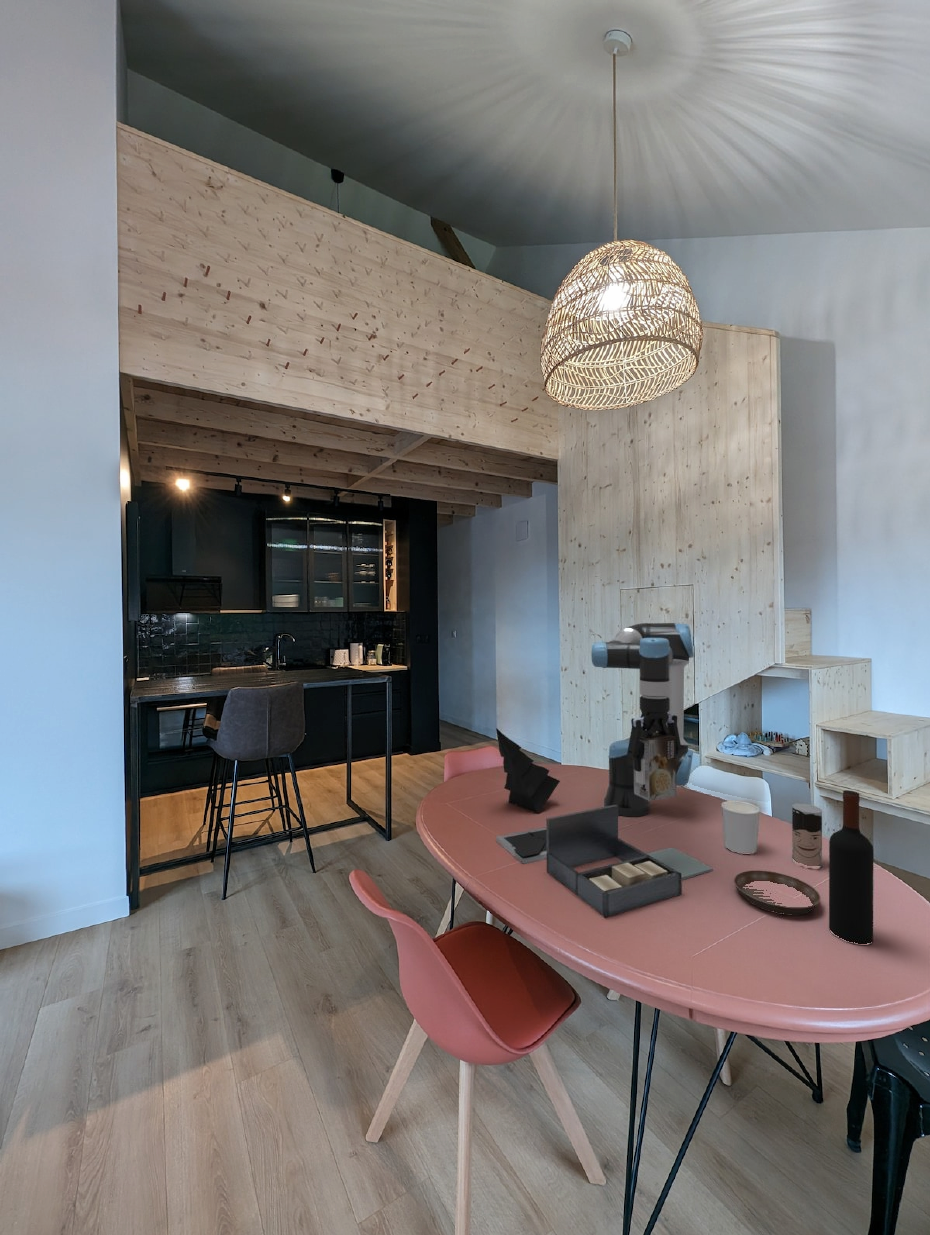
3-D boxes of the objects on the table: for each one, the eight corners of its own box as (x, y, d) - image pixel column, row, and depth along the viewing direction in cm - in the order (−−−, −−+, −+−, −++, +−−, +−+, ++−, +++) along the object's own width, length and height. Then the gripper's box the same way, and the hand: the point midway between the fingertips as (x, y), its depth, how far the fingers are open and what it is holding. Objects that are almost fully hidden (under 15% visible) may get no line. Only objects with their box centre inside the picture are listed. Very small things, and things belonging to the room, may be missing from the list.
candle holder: (764, 848, 154) (764, 806, 154) (754, 859, 147) (754, 816, 147) (727, 838, 161) (727, 798, 160) (716, 849, 153) (716, 807, 153)
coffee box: (659, 789, 148) (659, 731, 147) (677, 796, 142) (677, 736, 141) (632, 794, 144) (632, 734, 144) (649, 802, 138) (649, 740, 138)
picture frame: (522, 866, 145) (586, 852, 153) (522, 856, 145) (586, 842, 153) (496, 843, 160) (555, 831, 168) (496, 834, 160) (555, 822, 168)
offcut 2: (649, 880, 136) (649, 861, 136) (667, 891, 131) (667, 871, 131) (634, 885, 134) (634, 865, 134) (651, 896, 129) (651, 875, 129)
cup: (786, 860, 146) (786, 806, 146) (802, 856, 149) (802, 802, 149) (811, 871, 140) (811, 814, 140) (827, 866, 143) (827, 810, 143)
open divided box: (615, 854, 151) (615, 804, 150) (681, 894, 129) (681, 836, 129) (546, 871, 141) (546, 818, 141) (605, 917, 120) (605, 855, 119)
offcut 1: (606, 893, 130) (606, 875, 130) (622, 906, 125) (621, 886, 124) (589, 897, 128) (588, 878, 128) (603, 910, 123) (603, 891, 123)
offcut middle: (627, 886, 133) (627, 862, 133) (645, 898, 128) (645, 873, 128) (611, 891, 131) (611, 866, 131) (629, 903, 126) (628, 877, 126)
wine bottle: (820, 925, 116) (820, 787, 116) (853, 923, 117) (853, 786, 117) (848, 946, 109) (848, 799, 108) (882, 944, 109) (883, 798, 109)
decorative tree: (512, 810, 193) (468, 740, 180) (535, 779, 201) (494, 710, 187) (542, 822, 182) (498, 748, 169) (566, 789, 189) (524, 716, 176)
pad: (671, 849, 153) (671, 847, 153) (713, 870, 141) (713, 868, 141) (634, 859, 148) (633, 857, 148) (673, 882, 135) (673, 880, 135)
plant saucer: (721, 880, 136) (721, 868, 136) (792, 881, 136) (792, 869, 136) (756, 921, 118) (756, 907, 118) (838, 922, 118) (838, 908, 118)
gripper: (675, 691, 150) (675, 771, 151) (612, 697, 142) (612, 782, 142) (696, 695, 143) (696, 778, 144) (631, 701, 135) (631, 790, 135)
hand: (654, 780), depth 143 cm, fingers closed on coffee box, 9 cm apart
